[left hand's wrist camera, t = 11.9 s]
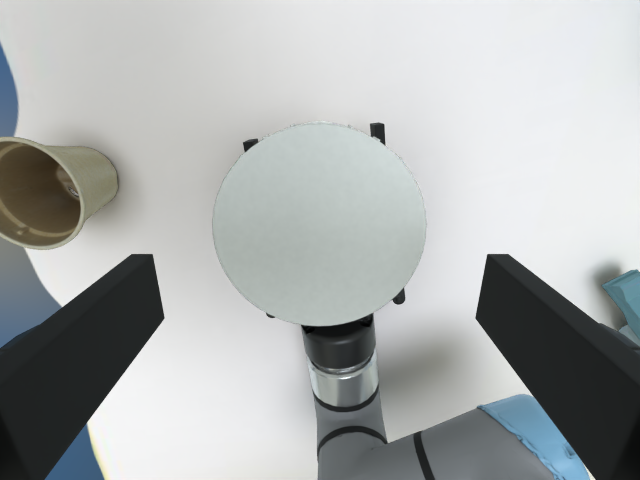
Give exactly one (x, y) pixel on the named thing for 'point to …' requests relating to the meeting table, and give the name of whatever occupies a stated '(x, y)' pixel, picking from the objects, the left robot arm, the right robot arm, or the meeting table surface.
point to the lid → (319, 224)
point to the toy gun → (627, 301)
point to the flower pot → (50, 191)
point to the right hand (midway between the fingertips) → (313, 132)
